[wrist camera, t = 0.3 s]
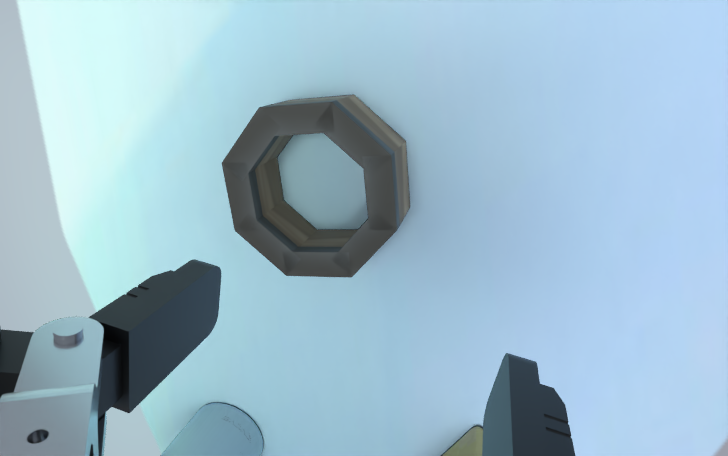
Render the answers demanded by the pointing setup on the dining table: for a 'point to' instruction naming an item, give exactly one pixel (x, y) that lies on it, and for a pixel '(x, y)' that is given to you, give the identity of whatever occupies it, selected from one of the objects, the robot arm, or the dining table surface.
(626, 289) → the dining table surface
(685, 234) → the dining table surface
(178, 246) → the dining table surface
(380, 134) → the collar
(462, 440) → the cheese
